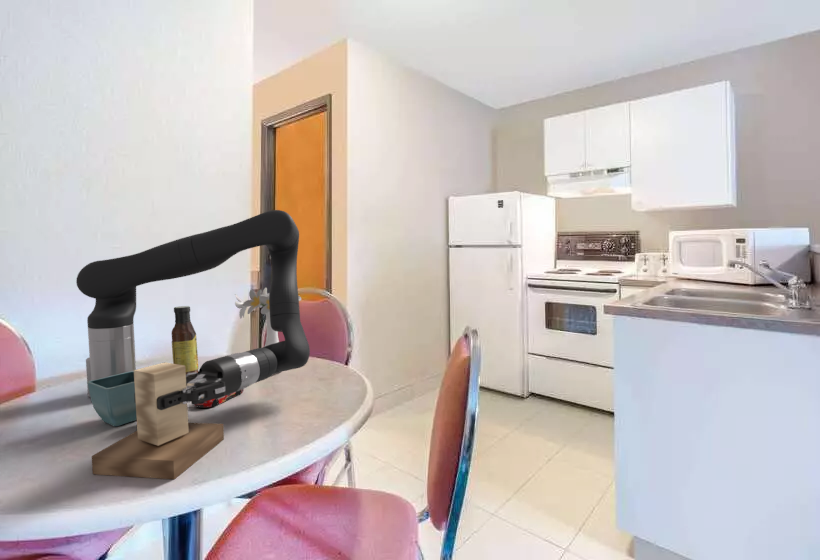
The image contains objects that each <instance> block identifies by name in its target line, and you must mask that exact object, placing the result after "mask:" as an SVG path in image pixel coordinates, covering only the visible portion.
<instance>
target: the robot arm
mask: <svg viewBox="0 0 820 560" xmlns="http://www.w3.org/2000/svg"><path fill="white" fill-rule="evenodd" d="M299 242H300V231H299V229H298V226H297V224H296V222H295V221H294V219H293V217H292V216H291V215H290V214H289V213H288V212H286V211H284V210H280V209H273V210H268V211H265V212H262V213H259V214H257V215H254V216H251V217H249V218H246V219H244V220H241V221H238V222H235V223H233V224H230V225H226V226H222V227H219V228H215V229H212V230H208V231H205V232H201V233H196V234H192V235H188V236H185V237H181V238H178V239H175V240H171V241H169V242H166V243H162V244H159V245H156V246H154V247H151V248H149V249H146V250H144V251H141V252H138V253H134V254H131V255H126V256H120V257H115V258H114V257H113V258H110V259H103V260H96V261H93V262H89V263H87V264H86V265H85V266H83V267H82V268H81V269H80V271H79V272H78V274H77V276H76V279H75V280H76V281H75V282H76V287H77V288H78V290H79V291H80V292H81V294H83V295H85V296H87V297H89V298H90V299H95V304H94V305H95V306H94V308H93V309H92V311H91V313H90V314H89V315H88V316H87V335H88V336H87V337H88V350H89V351H88V352H89V353H88V354H89V356H88V357H87V358H86V359H85V369H86V371H85V372H86V384H87V386H86V387H87V397H88V398H91V396H90V392H89V388H88V383H87V382H88V381H92V380H96V379H101V378H105V377H109V376H113V375H117V374H122V373H126V372H131V371H134V370H137V367H136V366H137V365H136V362H137V361H136V345H135V344H136V343H135V327H134V326H135V325H134V321H135V320H134V319H135V318H134V317H135V314H136V311H137V287H138V286H142V285H145V284H149V283H153V282H154V283H155V282H159V281H167V280H174V279H177V278H178V279H179V278H183V277H188V276H192V275H196V274H200V273H203V272H206V271H210V270H212V269H215V268H217V267H220V265H222V264H224V263H225V262H227V261H228V260H229V259H230V258H232V257H233V256H235V255H237V254H239V253H240V252H241V253H242V252H243V251H247V250H249V249H254V248H257V247H263V246H266V247H267V249H268V253H269V257H270V262H271V280H270V281H271V282H270V288H269V292H268V293H269V309H270V324H271V328H272V329H273V330H274V331H278V333H282V335H283V338H284V340H281V341H279V342H278V343H274V344H271V345H268V346H265V345H264V346H265V347H264V346H263V347H257V348H253V349H250V350H246V351H243V352H235V353H231V354H228V355H224V356H220V357H217V358H213V359H210V360H207V361H204V362H203V364H202V365H200V368H199V369H198V373H197V372H193V373H188V374H186V387H185V388H182V389H181V392H180V391H178V390H177V391H174V392H171V393H168V394H165V395H162V396H159V397H158V398H157V409H159V410H164V409H167V408H169V407H172V406H175V405H178V404H187V405H188V404H189V403H190V404H191V405H194V406H195V404H198V403H202V402H205V401H209V400H212V399H218V398H220V397H223V396H226V395H228V394H231V393H234V392H236V391H239V390H242V389H247V388H248V387H250V386H251V385H254V384H256V383H259V382H261V381H264V380H267V379H268V378H270V377H271V376H273V375H275V374H279V373H281V372H286V371H291V370H296V369H301V368H302V367H304V366H306V365H307V363H308V361H309V359H310V354H311V353H310V352H311V351H310V350H311V349H310V345H309V342H308V338H307V336H306V332H305V331H304V327H303V324H302V322H301V312H300V301H299V298H298V296H299V288H298V276H297V275H298V274H297V269H298V268H297V263H298V254H299V253H298V252H299V244H300V243H299ZM201 397H202V398H201ZM134 400H135V403H136V399H135V393H134Z"/></svg>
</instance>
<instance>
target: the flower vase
mask: <svg viewBox="0 0 820 560" xmlns="http://www.w3.org/2000/svg"><path fill="white" fill-rule="evenodd" d="M269 293H270V292H268V288H267V287H264V289H263V290H262V289H259V290H258V291H257V293H256V292H255V291H254V290H253V289H250V290H249V293H248V295H249V297H250V299H247V300H245V301H244V300H242V299H241V298H240V297H239V296H238V294H234V295H235V298H236V300H237V301H236V300H235V302H234V305H235V307H236V308H237V309H240V310H239V319H242V318H245V313H246V310H247V315H250V314H251V313H252V312H253V311H254V310H255V309H257V308H261V310H260V313H261V314H262V315H265V320H266V335H265V336H266V339H265V343H264V346H263V347H265V346H268V345H271V344H274V343H278V342H280V340H279V334H278V333H279V332H278V331H274V330H273V329H272V328H271V324H270V309H269ZM298 298H299V302H300V301H302V297H301V296H300V295H298ZM248 307H249V308H248Z"/></svg>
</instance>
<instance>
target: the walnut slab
mask: <svg viewBox="0 0 820 560" xmlns="http://www.w3.org/2000/svg"><path fill="white" fill-rule="evenodd" d="M188 429H189V433H186V434H184V435H182V436H179V437H177V438H175V439H173V440H170V441H168V442H166V443H163V444H161V445H159V446H158V445H154V444H151V443H148V442H145V441H142V440H139V439H138V432H137V430H136V431H134V432H132V433H130V434H128V435H126V436H125V437H123V438H121V439H119V440H118V441H116V442H114V443H112V444H110V445H109V446H107V447H105V448H103V449H101V450H100V451H97V452H96V453H93V455H91V466H92V475H98V476H99V475H101V476H116V477H129V478H133V477H134V478H147V479H161V480H162V479H163V480H165V479H166V480H175V479H177V478H178V477H180V476H181V475H182V474H183V473H184V472H186V470H188V469H189V468H191V467H192V466H193V465H194V464H196V462H198V461H199V460H200V459H202V458H203V457H204V456H205V455H207V454H208V453H209V452H211V451H212V450H213V449H214V448H215V447H216V446H218V445H219V444H220V443H222V442H223V441H224V440H225V437H224V436H225V434H224V431H225V430H224V423H211V422H210V423H209V422H191V421H188Z"/></svg>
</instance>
